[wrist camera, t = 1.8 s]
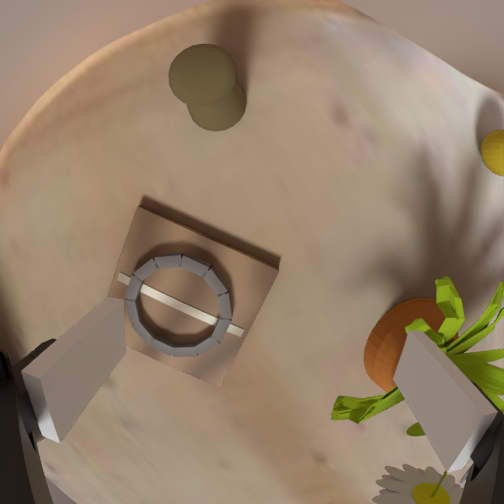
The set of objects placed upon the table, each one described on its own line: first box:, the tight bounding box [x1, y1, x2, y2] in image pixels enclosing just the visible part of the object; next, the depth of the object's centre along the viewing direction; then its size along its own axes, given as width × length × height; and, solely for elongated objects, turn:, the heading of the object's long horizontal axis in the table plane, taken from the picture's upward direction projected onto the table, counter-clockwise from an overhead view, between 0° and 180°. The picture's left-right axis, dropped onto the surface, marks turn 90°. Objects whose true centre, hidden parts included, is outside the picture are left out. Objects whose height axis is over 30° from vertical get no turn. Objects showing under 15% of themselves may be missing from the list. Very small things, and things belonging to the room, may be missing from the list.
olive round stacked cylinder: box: [169, 44, 246, 131], centre depth 25 cm, size 6×6×11 cm
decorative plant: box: [331, 276, 504, 504], centre depth 23 cm, size 27×24×25 cm
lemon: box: [481, 130, 504, 176], centre depth 26 cm, size 6×6×8 cm
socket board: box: [108, 206, 279, 387], centre depth 33 cm, size 16×16×2 cm
